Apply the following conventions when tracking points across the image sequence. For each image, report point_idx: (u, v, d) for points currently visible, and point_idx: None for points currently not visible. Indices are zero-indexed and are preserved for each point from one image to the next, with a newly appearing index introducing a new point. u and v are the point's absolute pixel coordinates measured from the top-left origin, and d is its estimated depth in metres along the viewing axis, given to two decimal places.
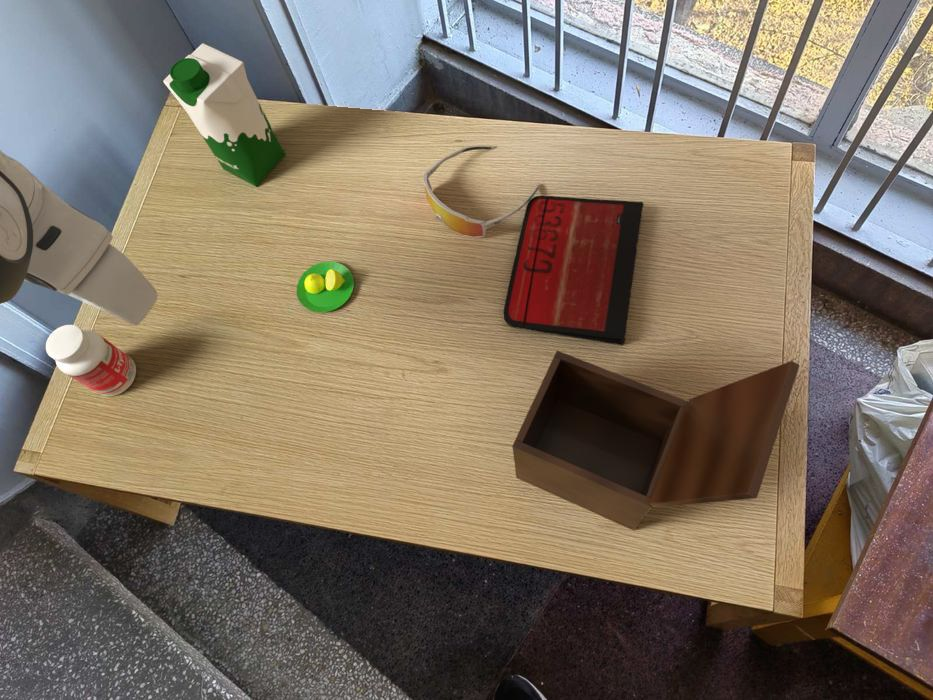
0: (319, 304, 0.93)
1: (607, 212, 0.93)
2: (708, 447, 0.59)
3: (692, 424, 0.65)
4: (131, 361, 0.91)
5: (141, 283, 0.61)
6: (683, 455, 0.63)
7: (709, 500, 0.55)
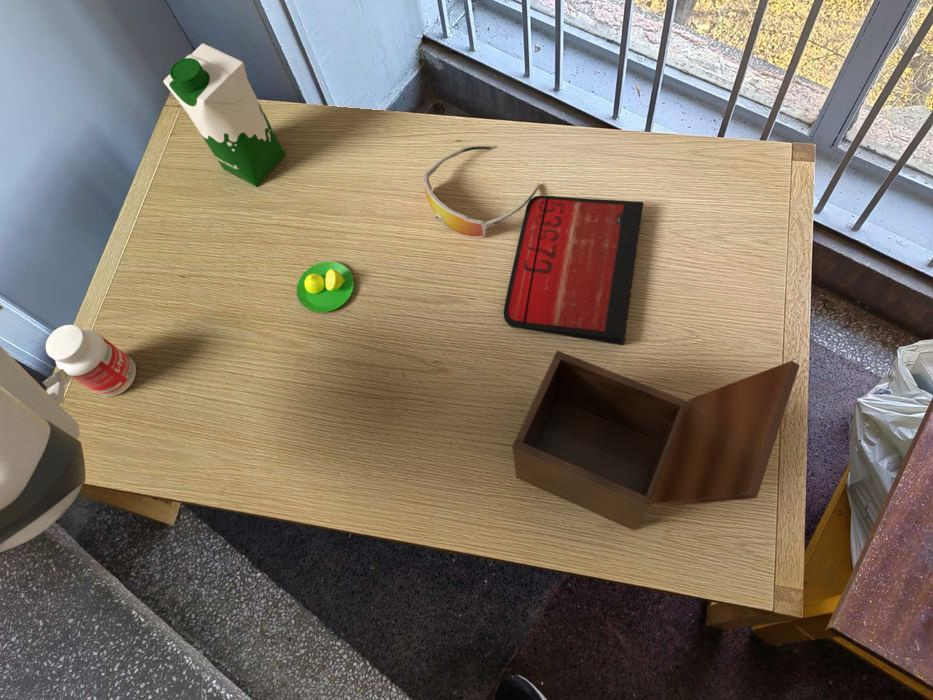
0: (318, 303, 0.93)
1: (607, 212, 0.93)
2: (708, 447, 0.59)
3: (692, 424, 0.65)
4: (131, 361, 0.91)
5: None
6: (683, 455, 0.63)
7: (709, 500, 0.55)
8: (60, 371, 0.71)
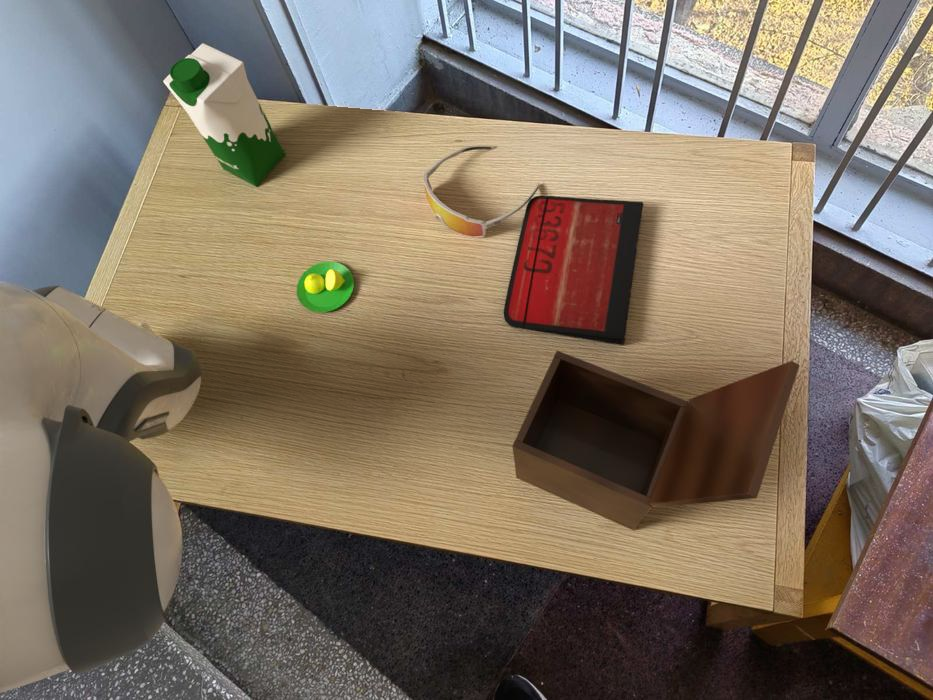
0: (318, 303, 0.93)
1: (607, 212, 0.93)
2: (708, 447, 0.59)
3: (692, 424, 0.65)
4: None
5: None
6: (683, 455, 0.63)
7: (709, 500, 0.55)
8: None
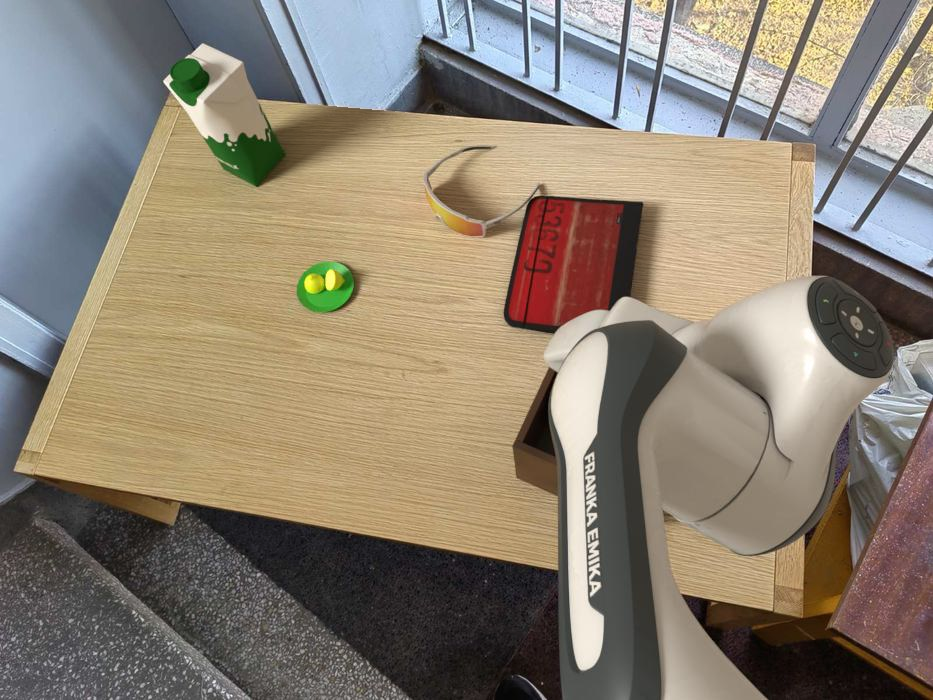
0: (318, 304, 0.93)
1: (607, 212, 0.93)
2: None
3: None
4: None
5: (558, 346, 0.59)
6: None
7: None
8: None
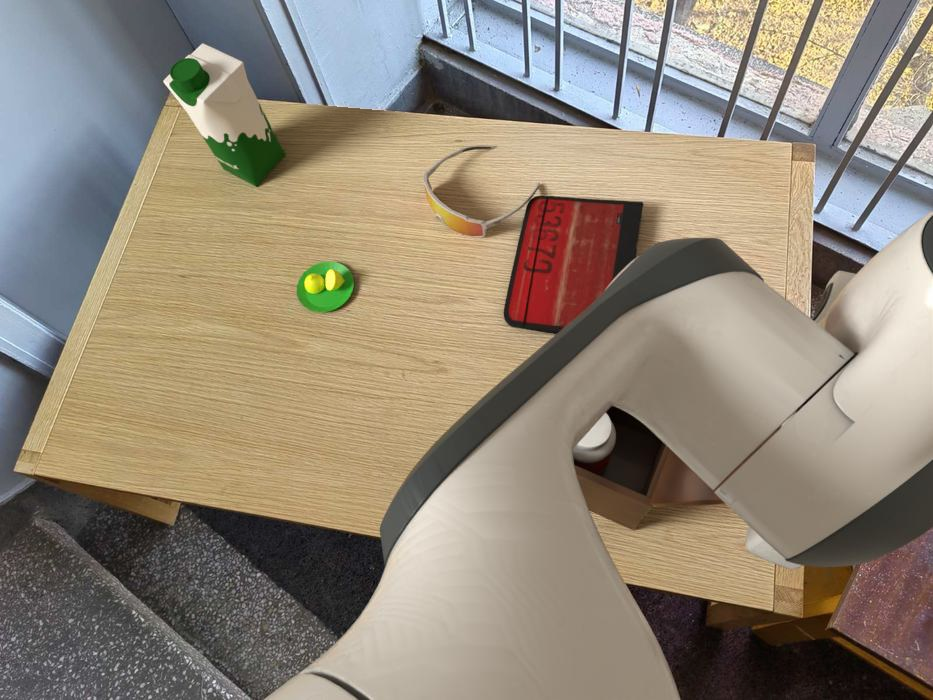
0: (318, 303, 0.93)
1: (607, 212, 0.93)
2: None
3: None
4: None
5: None
6: None
7: (713, 502, 0.55)
8: None
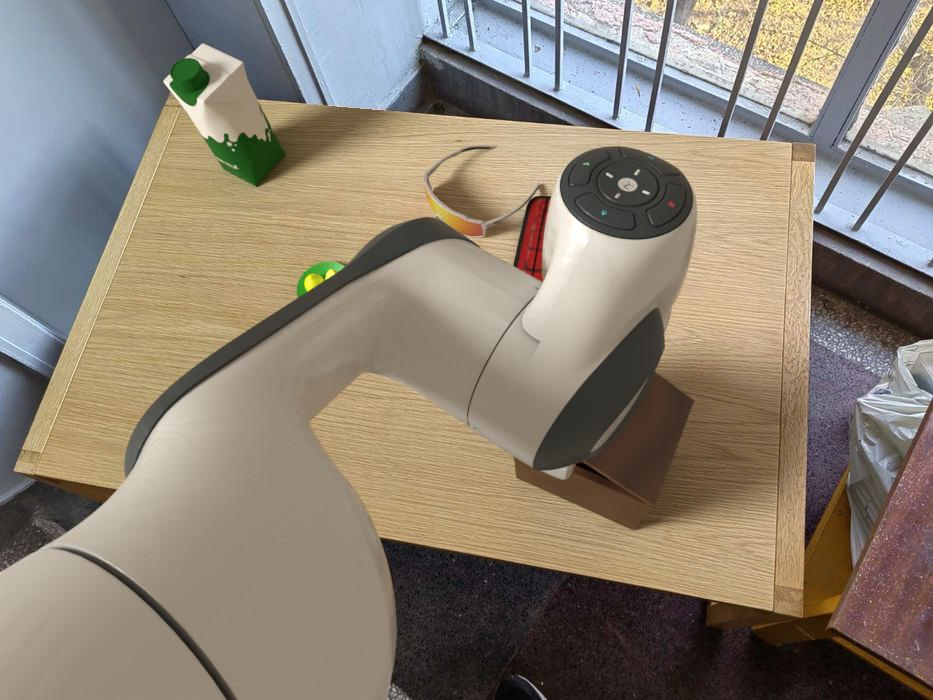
0: None
1: None
2: None
3: None
4: None
5: None
6: None
7: None
8: None
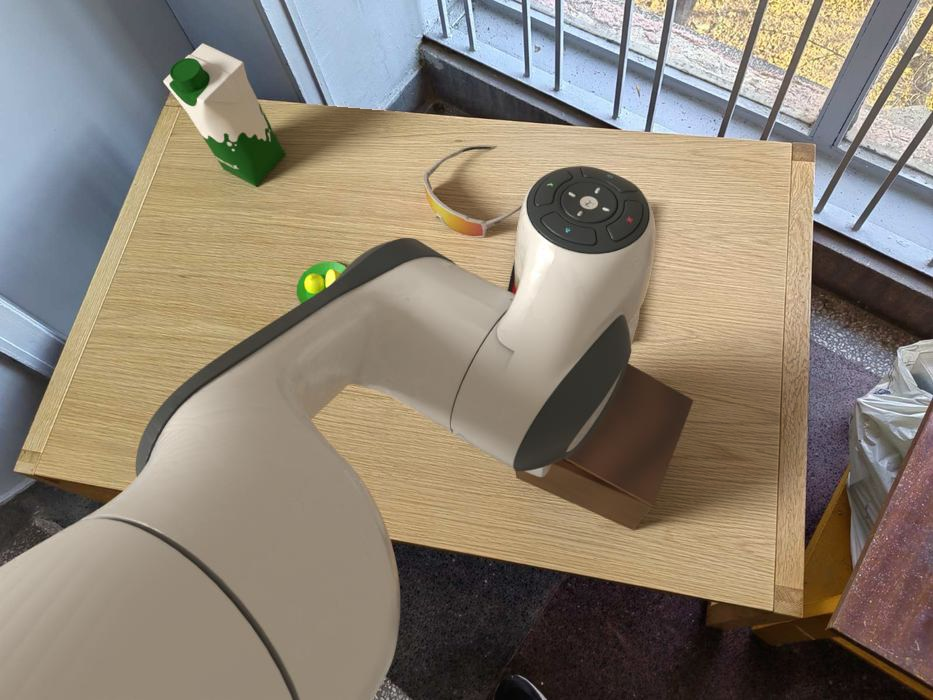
0: None
1: None
2: None
3: None
4: None
5: None
6: None
7: None
8: None
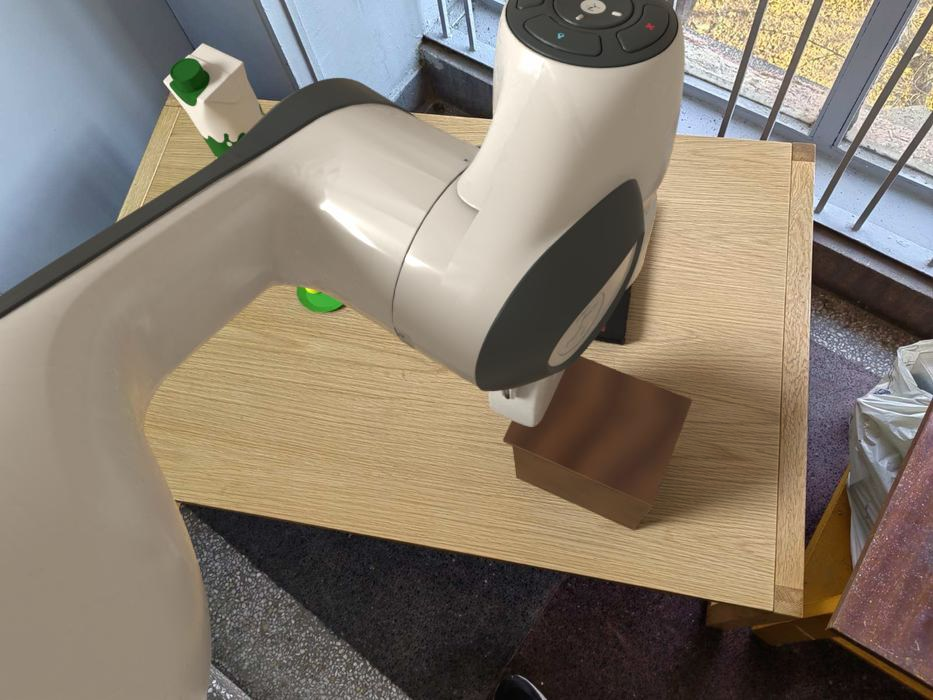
0: (318, 303, 0.93)
1: None
2: None
3: None
4: None
5: None
6: None
7: (556, 464, 0.67)
8: None
